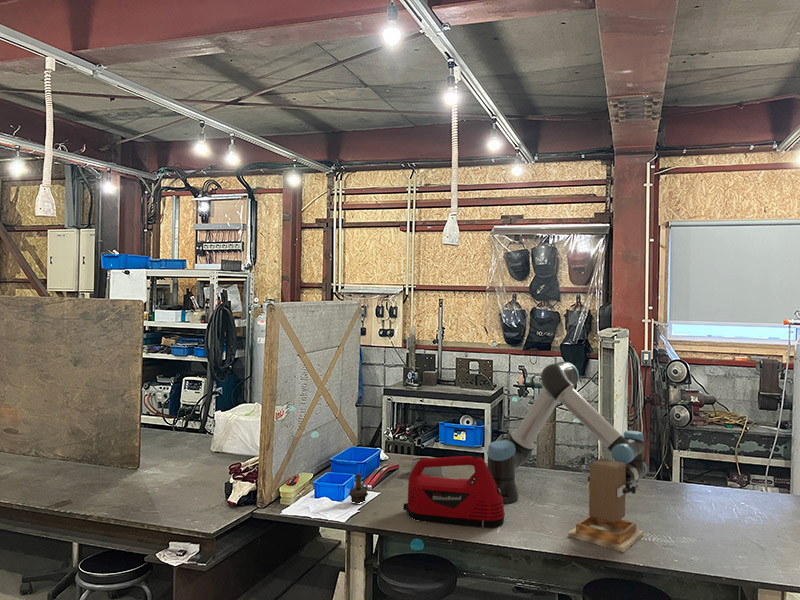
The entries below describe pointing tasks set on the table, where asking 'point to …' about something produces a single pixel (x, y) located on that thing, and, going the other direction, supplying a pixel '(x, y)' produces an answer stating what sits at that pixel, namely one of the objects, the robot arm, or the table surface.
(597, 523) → the wooden tray
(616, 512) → the block
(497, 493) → the power tool
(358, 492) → the industrial component
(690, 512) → the table surface
